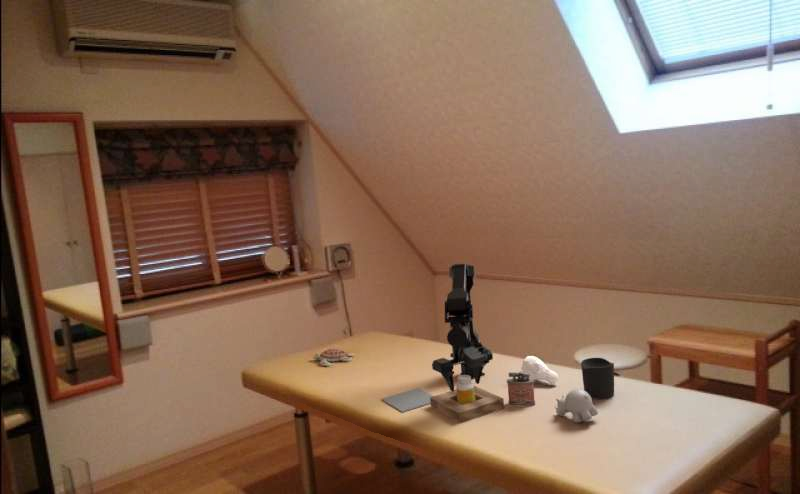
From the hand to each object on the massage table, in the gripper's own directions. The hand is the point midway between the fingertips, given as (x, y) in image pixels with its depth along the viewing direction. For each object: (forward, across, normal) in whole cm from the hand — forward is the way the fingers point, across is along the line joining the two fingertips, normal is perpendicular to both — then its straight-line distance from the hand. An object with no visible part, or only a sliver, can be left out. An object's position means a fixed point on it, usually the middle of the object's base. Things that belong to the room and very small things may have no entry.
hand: (465, 387), depth 182 cm
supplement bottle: (+7, 0, 0) cm, 7 cm away
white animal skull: (+7, +30, 0) cm, 31 cm away
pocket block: (+6, 0, 0) cm, 6 cm away
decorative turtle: (+7, -12, +77) cm, 78 cm away
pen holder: (+7, +36, -19) cm, 41 cm away
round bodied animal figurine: (+7, +18, -27) cm, 33 cm away
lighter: (+7, +14, -9) cm, 18 cm away
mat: (+6, -10, +17) cm, 21 cm away
